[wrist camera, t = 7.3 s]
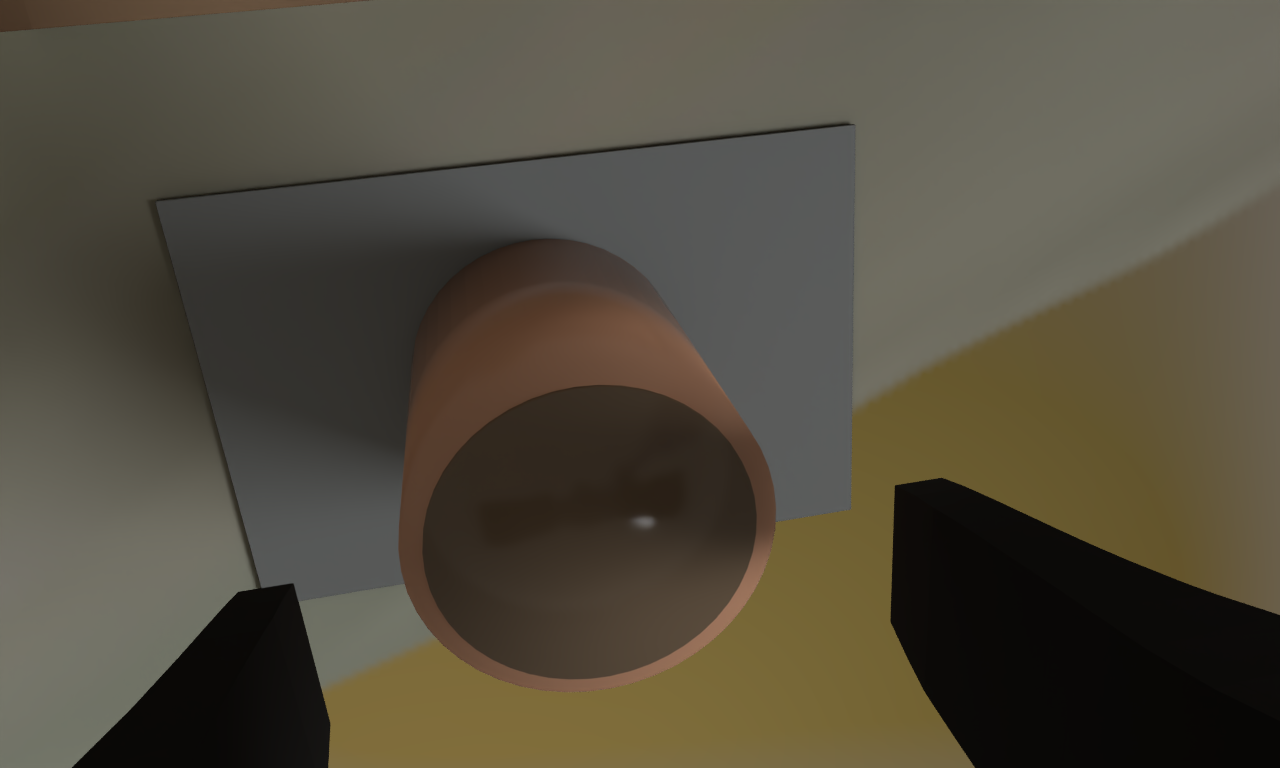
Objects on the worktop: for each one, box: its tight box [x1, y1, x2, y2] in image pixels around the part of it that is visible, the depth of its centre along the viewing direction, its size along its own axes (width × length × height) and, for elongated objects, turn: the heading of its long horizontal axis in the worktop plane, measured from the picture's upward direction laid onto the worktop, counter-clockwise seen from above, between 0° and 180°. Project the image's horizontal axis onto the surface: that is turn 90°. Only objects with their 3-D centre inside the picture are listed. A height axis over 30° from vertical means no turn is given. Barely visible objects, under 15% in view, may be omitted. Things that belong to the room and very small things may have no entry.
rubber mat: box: [155, 124, 855, 601], centre depth 18 cm, size 12×8×1 cm, turn 94°
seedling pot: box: [398, 239, 776, 692], centre depth 16 cm, size 5×5×6 cm
